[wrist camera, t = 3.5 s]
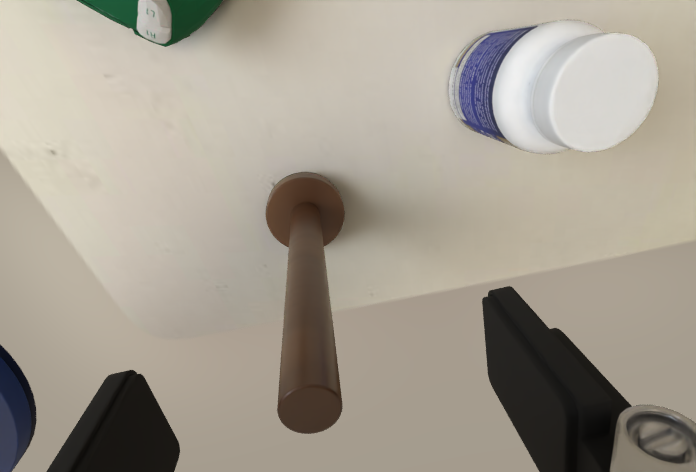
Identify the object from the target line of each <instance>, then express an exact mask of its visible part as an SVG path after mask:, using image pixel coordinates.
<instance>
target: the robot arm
mask: <svg viewBox="0 0 696 472" xmlns="http://www.w3.org/2000/svg"><path fill="white" fill-rule="evenodd" d="M482 304H483V316H484V328H485V341H486V354H487V367H488V376H489V380H490V383H491V385H492V387H493V389H494V391H495V393H496V395H497V396H498V398H499V400H500V402H501V403H502V405H503V407H504V409H505V411H506V412H507V414H508V416H509V418H510V419H511V421H512V423H513V425H514V427H515V428H516V430H517V432H518V434H519V436H520V437H521V439H522V441H523V443H524V444H525V446H526V448H527V450H528V452H529V454H530V455H531V457H532V459H533V461H534V463H535V464H536V466H537V468H538V470H539V471H540V472H696V423H695V422H694V421H692V420H691V419H689V418H687V417H685V416H684V415H682V414H680V413H678V412H676V411H673V410H671V409H668V408H665V407H660V406H654V405H636V406H633V407H632V406H631V405H630V404H629V403H628V402H627V401H626V400H625V399H624V397H623V396H622V395H621V394H620V393H619V392H618V391H617V390H616V389H615V388H614V387H613V386H612V385H611V384H610V382H609V381H608V380H607V379H606V378H605V377H604V376H603V375H602V374H601V373H600V372H599V371H598V369H597V368H596V367H595V366H594V365H593V364H592V363H591V362H590V361H589V360H588V359H587V358H586V357H585V355H583V353H582V352H581V351H580V350H579V349H578V348H577V347H576V346H575V345H574V344H573V343H572V342H571V340H570V339H569V338H568V337H567V336H566V335H565V334H564V333H563V332H562V331H561V330H559V329H557V328H553V329H549V328H548V327H547V326H546V325H545V324H544V322H542V320H541V319H540V318H539V317H538V316H537V314H536V313H535V312H534V311H533V310H532V309H531V308H530V307H529V306H528V304H526V302H525V301H524V300H523V299H522V298H521V297H520V295H519V294H518V293H517V292H516V291H515V290H514V289H513V288H512V287H510V286H509V287H504V288H499V289H495V290H491V291H489V293H488V297H484V298H483V301H482ZM179 453H180V447H179V443H178V440H177V438H176V436H175V434H174V433H173V431H172V429H171V427H170V425H169V423H168V421H167V419H166V418H165V416H164V414H163V412H162V410H161V408H160V406H159V404H158V403H157V401H156V399H155V397H154V395H153V393H152V391H151V389H150V388H149V386H148V384H147V382H146V380H145V378H144V377H143V375H141V374H137V373H136V372H135V371H134V370H129V371H125V372H120V373H115V374H111V375H109V376H108V377H107V378H106V379H105V381H104V382H103V384H102V385H101V387H100V389H99V390H98V392H97V393H96V395H95V396H94V398H93V400H92V401H91V403H90V404H89V406H88V407H87V409H86V411H85V412H84V414H83V415H82V417H81V418H80V420H79V421H78V423H77V425H76V426H75V428H74V429H73V431H72V432H71V434H70V435H69V437H68V439H67V440H66V442H65V443H64V445H63V446H62V448H61V450H60V451H59V453H58V454H57V456H56V458H55V459H54V461H53V462H52V464H51V465H50V467H49V469H48V470H47V472H174V470H175V467H176V464H177V461H178V458H179Z"/></svg>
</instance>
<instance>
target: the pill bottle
mask: <svg viewBox="0 0 696 472" xmlns="http://www.w3.org/2000/svg"><path fill="white" fill-rule="evenodd" d="M658 75H659V73H658V66H657V62H656V59H655V56H654V55H653V53H652V51H651V49H650V48H649V47H648V46H647V44H645V43H644V42H643V41H641V40H640V39H639V38H637V37H635V36H632V35H630V34H625V33H604V32H603V31H602V30H601V29H599V28H598V27H596V26H594V25H592V24H590V23H587V22H583V21H578V20H559V21H553V22H547V23H542V24H536V25H531V26H525V27H518V28H512V29H505V30H497V31H492V32H488V33H486V34H483V35H481V36H479V37H478V38H476V39H475V40H473V41H472V42H471V43H470V44H469V45H468V46H467V47H466V48H465V49H464V50H463V51H462V52H461V54H460V55H459V57H458V58H457V60H456V62H455V64H454V66H453V68H452V71H451V75H450V79H449V99H450V104H451V107H452V109H453V111H454V113H455V115H456V117H457V118H458V119H459V120H460V122H461V123H462V124H463V125H465V126H466V127H467V128H469V129H471V130H473V131H475V132H477V133H480V134H483V135H485V136H488V137H490V138H493V139H496V140H498V141H501V142H503V143H506V144H509V145H511V146H514V147H516V148H519V149H521V150H524V151H528V152H532V153H538V154H554V153H560V152H563V151H567V150H569V149H573V150H577V151H581V152H598V151H602V150H606V149H609V148H611V147H614V146H616V145H618V144H619V143H621V142H623V141H624V140H625V139H627V138H628V137H629V136H631V135H632V134H633V133H634V132H635V131H636V130H637V129H638V128H639V127H640V125H641V124H642V123H643V121H644V120H645V118H646V117H647V115H648V114H649V112H650V110H651V108H652V106H653V103H654V100H655V97H656V93H657V89H658V83H659V81H658V80H659V77H658Z"/></svg>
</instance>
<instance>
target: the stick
mask: <svg viewBox="0 0 696 472" xmlns="http://www.w3.org/2000/svg"><path fill="white" fill-rule="evenodd" d="M344 217H345V211H344V205H343V202H342V198H341V196H340V193H339V191H338V190H337V188H336V187H335V186H334V185H333V184H332V183H331V182H330V181H329V180H328V179H326V178H325V177H323V176H321V175H318V174H314V173H308V172H301V173H295V174H292V175H289V176H287V177H285V178H284V179H282V180H281V181H280V182H278V183H277V185H276V186H275V187H274V188H273V190H272V191H271V193H270V196H269V199H268V203H267V207H266V220H267V224H268V227H269V229H270V231H271V233H272V234H273V236H274V237H275V238H276V239H277V240H278V241H279V242H281V243H282V244H283V245H285V246H287V247H289V253H288V268H287V282H286V296H285V310H284V324H283V338H282V352H281V367H280V381H279V395H278V409H277V410H278V416H279V418H280V420H281V422H282V423H283V424H284V425H285V426H286V427H287V428H289V429H290V430H292V431H295V432H298V433H305V434H311V433H317V432H321V431H324V430H326V429H328V428H329V427H331V426H332V425H333V424H335V422H336V421H337V420H338V419H339V417H340V415H341V412H342V398H341V389H340V382H339V372H338V364H337V355H336V347H335V338H334V330H333V321H332V313H331V304H330V296H329V287H328V279H327V270H326V262H325V253H324V246H325V245H327V244H329V243H330V242H331V241H333V240H334V239H335V238H336V236H337V235H338V234H339V232H340V230H341V228H342V226H343V222H344Z"/></svg>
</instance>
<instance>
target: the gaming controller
mask: <svg viewBox="0 0 696 472" xmlns="http://www.w3.org/2000/svg"><path fill="white" fill-rule="evenodd" d="M77 1H79V2H81V3H82V4H84V5H86V6H88V7H89V8H91V9H93V10H95V11H97V12H98V13H100V14H102V15H104V16H105V17H107V18H109V19H111V20H113V21H115V22H117V23H119V24H121V25H123V26H125V27H127V28H132V29H133V31H134V33H135V34H136V35H138V36H140V37H142V38H144V39H146V40H149V41H151V42H153V43H156V44H159V45H162V46H165V47H166V46H169V45H172V44H175V43H177V42H179V41H180V40H182V39H184V38H186V37H188V36H190V34H192V33H193V32H194V31H196V30H197V29H198V28H200V27H201V26H202V25H203V24H204V23H205V22H206V21H207V19H208V18H209V17H210V16H211V15H212V14H213V13H214V11H215V10H216V9H217V8H218V7H219V6H220V4H221V2H222V1H223V0H77Z"/></svg>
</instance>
